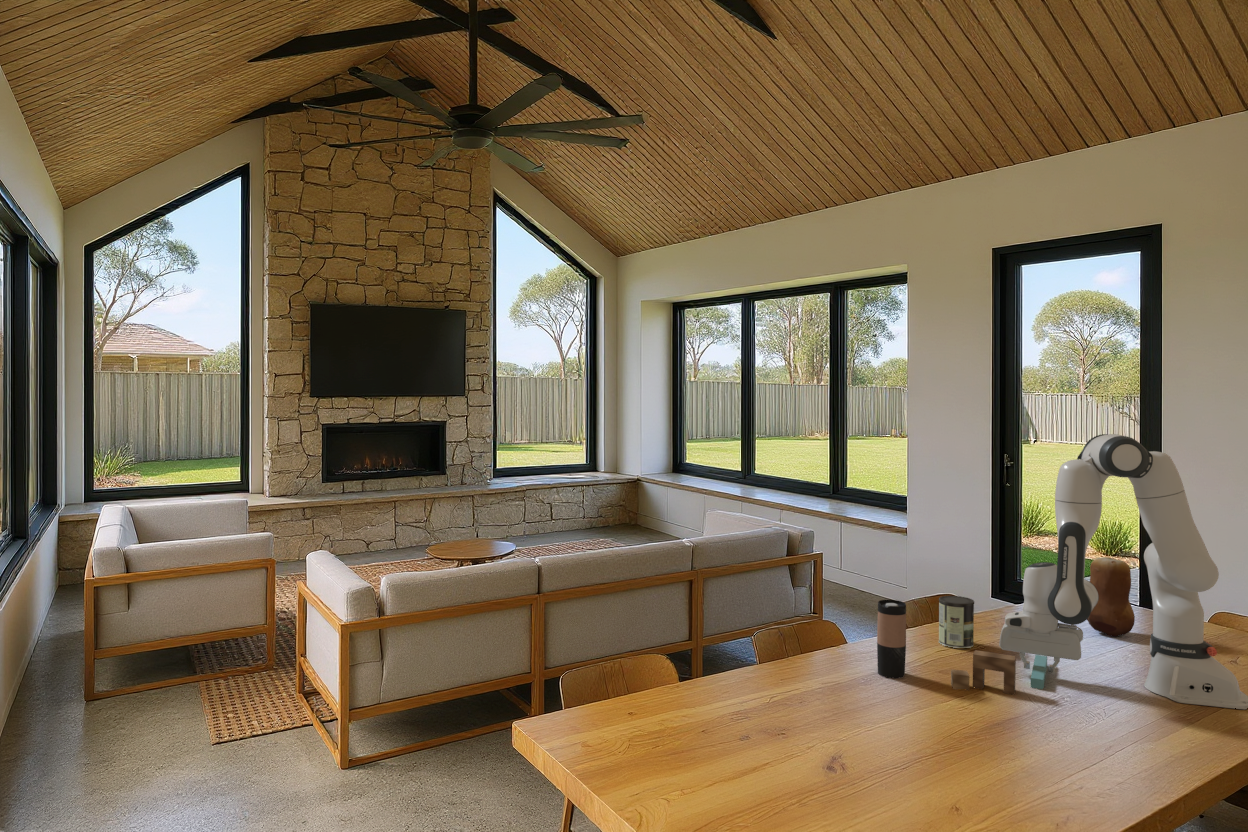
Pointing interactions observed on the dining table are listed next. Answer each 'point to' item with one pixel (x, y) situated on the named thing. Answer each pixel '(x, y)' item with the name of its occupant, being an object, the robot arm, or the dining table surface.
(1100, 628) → the butternut squash
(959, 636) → the coffee can
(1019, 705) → the dining table surface
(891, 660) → the travel mug
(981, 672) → the wooden u-shaped block
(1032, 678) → the teal square bar
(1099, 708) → the dining table surface
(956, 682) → the bead cube
